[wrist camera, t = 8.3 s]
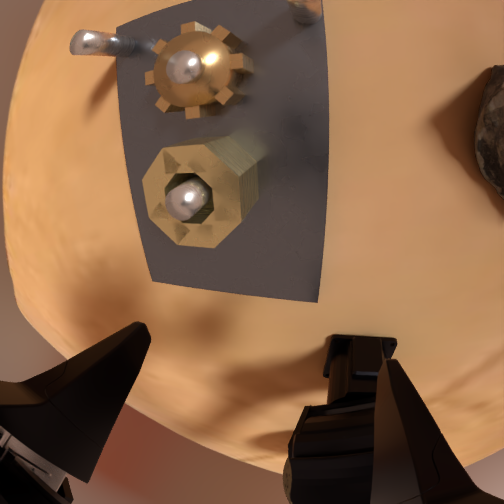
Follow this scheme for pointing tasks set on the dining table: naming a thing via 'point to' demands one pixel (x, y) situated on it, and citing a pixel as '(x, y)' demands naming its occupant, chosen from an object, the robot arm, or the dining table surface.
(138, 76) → the carrier
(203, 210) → the hollow octagonal tube
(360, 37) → the dining table surface
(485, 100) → the grey rock
